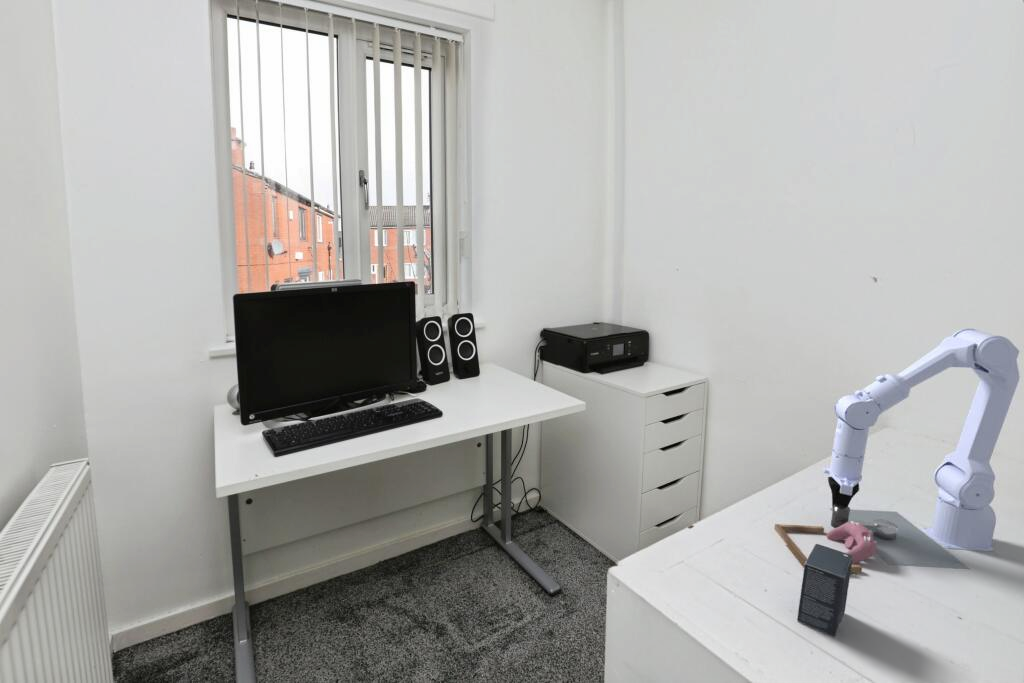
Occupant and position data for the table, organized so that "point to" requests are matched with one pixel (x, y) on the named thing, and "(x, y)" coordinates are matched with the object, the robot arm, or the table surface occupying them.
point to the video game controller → (855, 540)
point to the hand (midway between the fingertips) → (838, 512)
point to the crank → (864, 523)
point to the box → (824, 589)
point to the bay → (794, 549)
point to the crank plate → (907, 543)
